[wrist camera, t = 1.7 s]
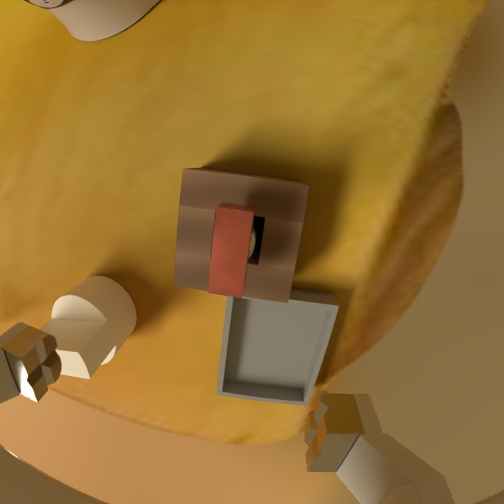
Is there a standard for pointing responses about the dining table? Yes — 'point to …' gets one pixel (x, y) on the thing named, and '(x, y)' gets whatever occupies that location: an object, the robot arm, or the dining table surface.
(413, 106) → the dining table surface
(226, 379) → the tray
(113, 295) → the base with upright slab
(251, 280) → the wooden square hole block
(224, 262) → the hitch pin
